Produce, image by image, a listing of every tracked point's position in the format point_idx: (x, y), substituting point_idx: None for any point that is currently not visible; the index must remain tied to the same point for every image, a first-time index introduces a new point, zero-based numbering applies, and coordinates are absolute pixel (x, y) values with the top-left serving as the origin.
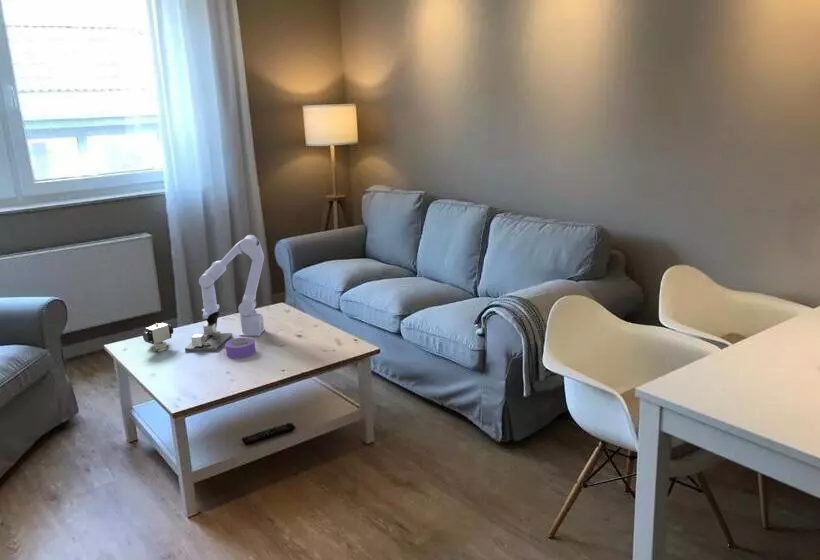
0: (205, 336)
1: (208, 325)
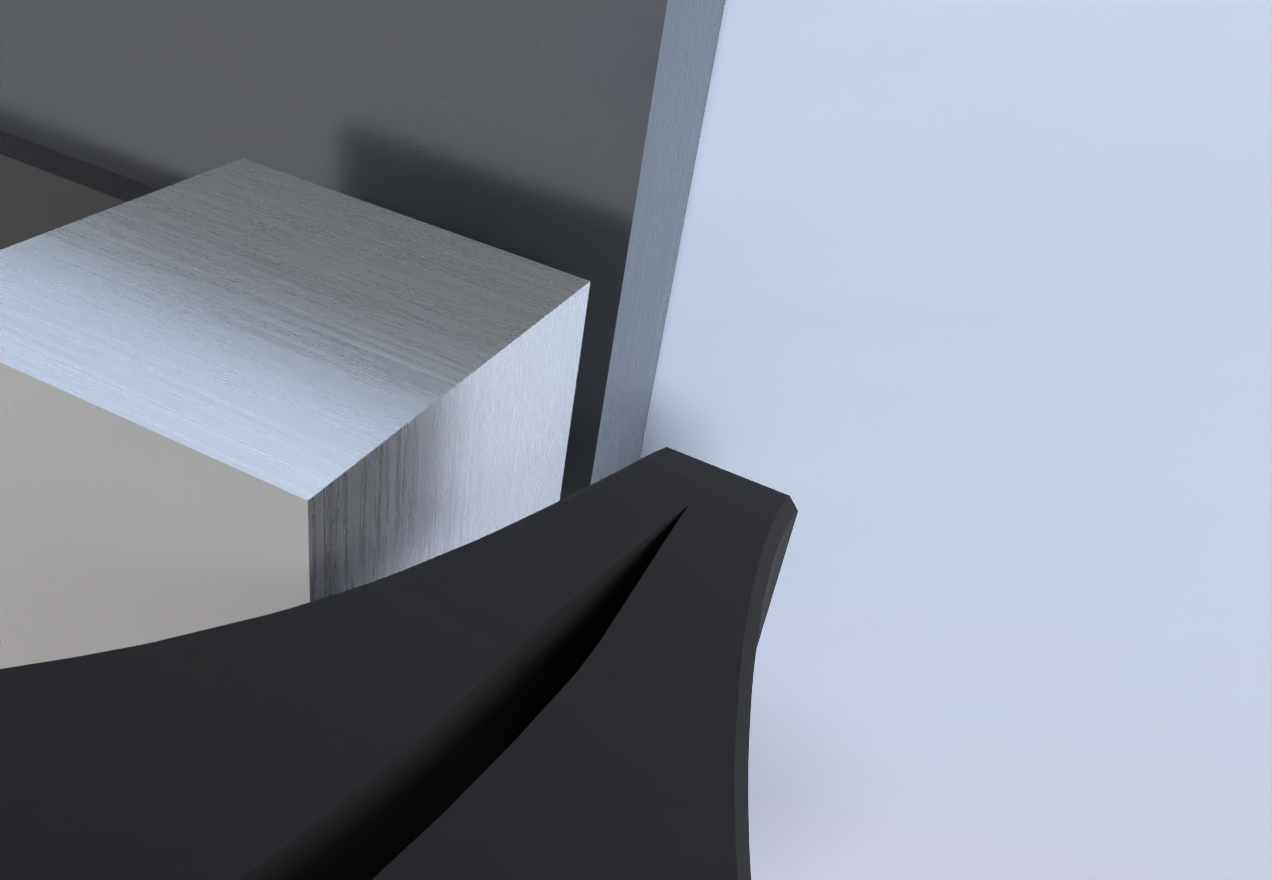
0: (306, 171)
1: (8, 557)
